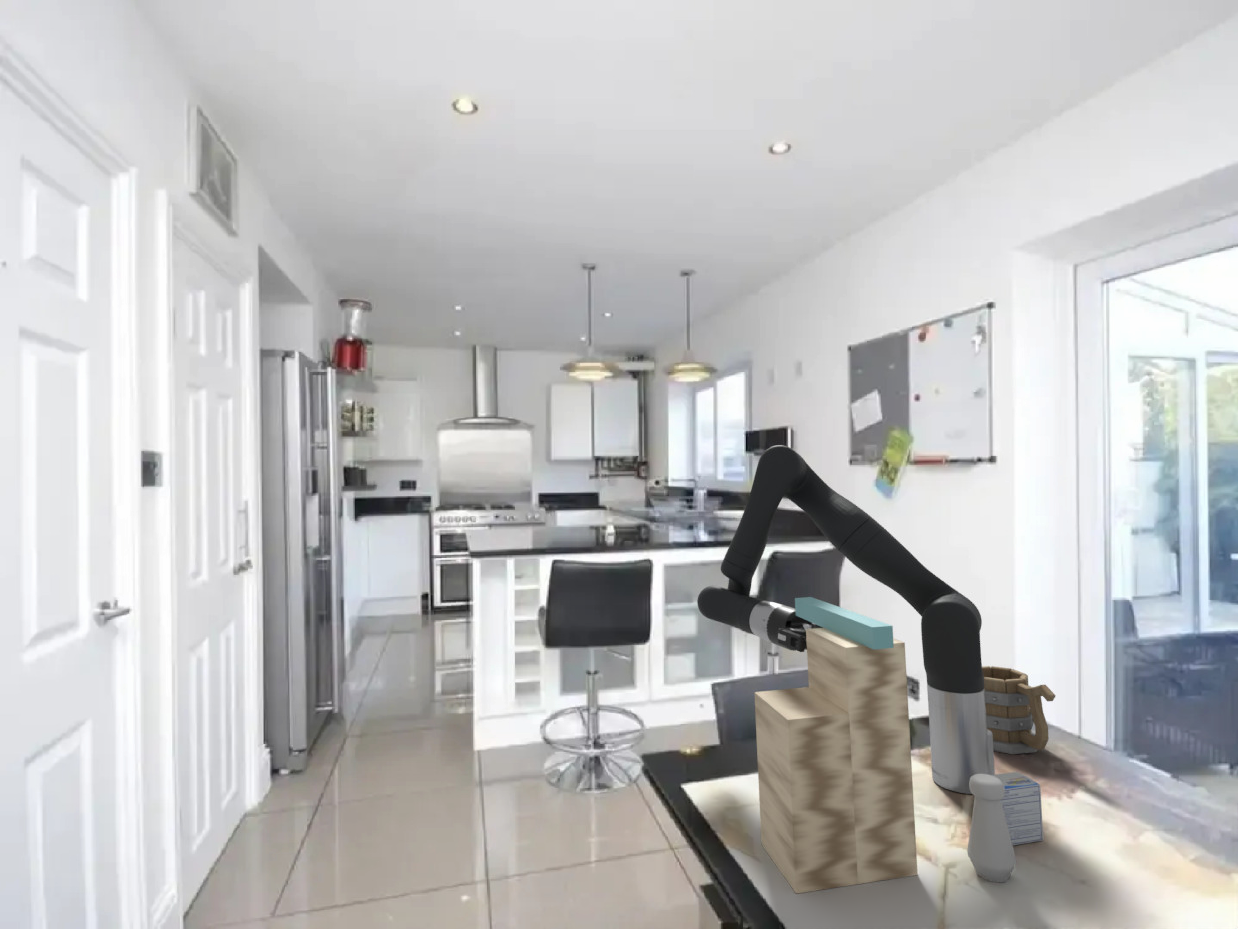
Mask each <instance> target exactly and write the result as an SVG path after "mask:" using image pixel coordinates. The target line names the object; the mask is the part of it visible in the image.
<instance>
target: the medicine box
mask: <svg viewBox="0 0 1238 929" xmlns="http://www.w3.org/2000/svg"><path fill="white" fill-rule="evenodd" d="M991 776H994V777H996V778H998V779H999V780H1000V781H1001V782H1002V783H1003V784H1004V787H1005V795H1004V798H1003V799H1002V800H1001V803H1002V807H1003V811H1004V815H1005V819H1006V823H1007V826H1008V830H1009V834H1010V838H1011V842H1012V846H1017V845H1023V844H1024V845H1025V844H1030V843H1035V842H1041V841H1044V829H1043V827H1044V826H1043V825H1044V824H1043V811H1042V810H1043V809H1042V792H1041V784H1040V783H1038V782H1037V781H1036V780H1033V779H1032V778H1031V777H1028V776H1027V775H1025V774H1023V773H1021V772H1019V771H1013V772H1005V773H995V775H991Z"/></svg>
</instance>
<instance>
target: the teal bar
mask: <svg viewBox="0 0 1238 929" xmlns="http://www.w3.org/2000/svg"><path fill="white" fill-rule="evenodd" d="M794 608H795V611H796V616H798V617H800V618H803V619H805V620H807V621H809V622H811V623H814V624H816V625H819V626H821V627H823V628H825V629H828V630H830V631H832V632H835V633H837V634H839V635H841V636H844V637H846V638H848V639H851V640H853V641H855V642H858V643H860V644H862V645H864V646H867V647H869V648H871V649H886V648H894V643H893V638H894V630H893V628H894V627H893V625H891V624H888V623H886V622H884V621H880V620H877V619H874V618H872V617H869V616H866V615H863V614H861V613H857V612H854V611H853V610H852V611H851V610H849V609H846V608H843V607H840V606H838V605H835V604H832V603H829V602H826V601H824V600H820V599H817V598H815V597H813V596H808V597H807V596H806V597H805V596H804V597H795V598H794Z"/></svg>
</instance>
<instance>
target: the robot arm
mask: <svg viewBox="0 0 1238 929" xmlns="http://www.w3.org/2000/svg"><path fill="white" fill-rule="evenodd" d="M756 466H757V467H756V469H755V473H754V478H753V482H752V486H751V489H750V492H749V496H748V499H747V502H746V505H745V508H744V509H743V510H744V511H743V513H742V516H741V518H740V520H739V523H738V526H737V529H736V531H735V532H734V536H733V537H732V538H731V542H730V544H729V546H728V549H727V551H726V553H725V555H724V558H723V560H722V562H721V566H720V572H721V574H722V575H723V576H725V577H726V578H728V583H727V584H728V586H727V588H724V587H722V586H718V585H708V586H706V587H704V588H703V589H702V590H701V591H700V592H699V594H698V596H697V602H696V603H697V608H698V610H699V612H700V614H701V615H702V616H704V617H705V618H707V619H709V620H711V621H715V622H718V623H722V624H725V625H729V626H732V627H734V628H738V629H740V630H742V631H743V632H746V633H749V634H751V635H754V636H756V637H758V638H760V639H761V640H764V641H766V642H768V643H770V644H773V645H776V646H779V647H782V648H784V649H786V650H789V651H797V652H800V653H804V652H805V651H807V640H806V629H814V628H823V627H821V626H819V625H816V624H814V623H812V622H809V621H807V620H805V619H803V618H800V617H798V616H796V611H795V607H792V606H788V605H785V604H781V603H778V602H774V601H768V600H764V599H761V598H757V597H755V596H750V595H751V589H752V582H753V577H754V575H755V572H756V570H758V569H757V568H758V567H759V564H760V561H761V559H762V557H763V554H764V553H765V549H766V546H767V542H768V539H769V535H770V530H771V526H772V523H773V520H774V518H775V514H776V513H777V510H778V507H779V505H780V504H781V502H782V500H783V498H784V497H785V498H786V499H788V500H789V501H790V502H792V503H793V504H795V505H796V506H797V507H798V508H800V509H801V510H802V511H803V512H804V513H805V514H806V515H807V516H808V517H809V518H810V519H811V520H812V521H813V523H814V525H816V527H817V528H818V529H819V531H820V532H821V533H822V535H823V536H824V537H825V538H826V539H827V540H828V542H829V543H830V544H831V545H832V546H833V547H834V548H835V549H836V550H837V551H838V552H839V553H840V554H842V555H843V557H845V558H846V559H847V560H849V562H851V564H853V565H854V566H855V567H856V568H858V569H859V570H860V571H862V572H863V573H864V574H866V575H868V576H869V577H870V578H873V579H874V580H875V581H877V582H879V583H880V584H882V585H884V586H886V587H888V588H889V589H890V590H892V591H893V592H895V593H897V594H898V595H899V596H901V597H902V598H903V599H904V600H905V601H906V602H907V603H908V604H909V605H910V606H911V607H912V608H913V609H914V610H915V611H916V612H917V614H919V615H920V616H921V619H920V621H921V622H920V628H921V629H920V631H921V632H920V633H921V634H920V635H921V645H922V646H921V647H922V657H923V658H922V659H923V667H924V670H925V677H926V689H927V691H926V692H927V705H928V706H927V707H928V724H929V739H930V740H929V741H930V742H929V743H930V760H931V761H930V762H931V763H930V764H931V773H932V774H931V776H932V777H931V778H932V780H933V781H934V783H936V784H937V785H938V786H940V787H942V788H943V789H946V790H949V791H952V792H955V793H961V794H967V795H968V794H970V795H973V794H972V793H971V791H970V788H969V781H970V777H971V776H973V775H975V774H988V775H996V768H995V757H994V756H995V755H994V754H995V751H993V735H992V732H991V731H990V730H988V729H987V721H986V706H985V689H984V675H983V670H982V667H983V664H982V651H981V650H982V649H981V647H982V646H981V629H982V625H983V624H982V623H983V622H982V620H983V619H982V616H981V613H980V610H979V609H978V607H977V606H976V604H975V603H973V601H971V600H970V599H969V598H968V597H966V596H965V595H963V594H962V593H961V592H959V591H958V590H956V589H955V588H953V587H952V586H951V585H949V584H948V583H947V582H946V581H944V580H942V579H941V578H940V577H939V576H937V575H936V574H935V573H933V572H932V571H930V570H929V568H927V567H926V566H924V565H923V564H922V563H921V562H920V561H919V560H918V559H917V558H916V557H915V556H914V555H913V554H912V553H911V551H909V549H907V548H906V547H905V546H904V545H903V544H902V543H901V542H900V541H899V540H898V539H897V538H896V537H895V536H893V535H892V533H890V532H889V531H888V530H887V529H886V528H885V527H884V526H882V525H881V524H880V523H879V522H878V521H877V520H875V518H873V517H872V516H871V515H869V514H868V513H867V512H866V511H864V509H862V508H861V507H860V506H857V505H856V504H855V503H853V502H852V501H851V500H849V499H847V498H846V497H844V496H843V495H841V494H840V493H838V492H837V491H836V490H834V489H833V488H831V487H830V486H829V485H828V484H827V483H826V482H825V481H824V480H823V479H822V478H821V477H820V476H819V475H818V474H817V473H816V471H814V470H813V469H812V468H811V466H810V465H809V464H808V463H807V461H805V459H804V458H803V457H802V455H801V454H799V453H798V452H797V451H796V450H795V449H793V448H792V447H789V446H787V445H782V444H780V445H779V444H778V445H772V446H769V448H767V449H766V450H765V451H763V453H762V454H761V456H760V457H759V460H758V462H757V465H756Z"/></svg>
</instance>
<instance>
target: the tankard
mask: <svg viewBox="0 0 1238 929" xmlns="http://www.w3.org/2000/svg"><path fill="white" fill-rule="evenodd" d="M982 670H983V675H984V689H985V706H986V721H987V729H988V730H990V731H991V732H992V735H993V751H994V752H997V753H1003V754H1006V755H1007V754H1008V755H1019V754H1022V755H1023V754H1033V753H1034V754H1035V753H1037V752H1038V751H1042V750H1045V748H1046V746H1047V743H1048V741H1049V727H1048V724H1047V720H1046V717H1045V714H1044V710H1043V701H1042V697H1043V698H1044V699H1045V701H1046V702H1054V700H1055V698H1056V694H1055V693H1054V692H1053V691H1052V690H1051V689H1050V688H1049V687H1048V686H1047V685H1046V684H1039V685H1036V686H1031V685H1029V674H1027V673H1025V672H1021V671H1019V670H1016V669H1014V668H1009V667H1002V666H994V665H992V666H990V665H984V666H983V665H982ZM1033 726H1034V729H1035V732H1033V731H1032V728H1033Z"/></svg>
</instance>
